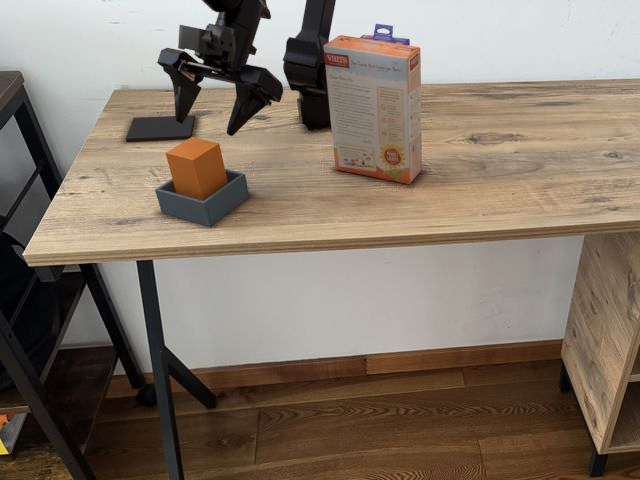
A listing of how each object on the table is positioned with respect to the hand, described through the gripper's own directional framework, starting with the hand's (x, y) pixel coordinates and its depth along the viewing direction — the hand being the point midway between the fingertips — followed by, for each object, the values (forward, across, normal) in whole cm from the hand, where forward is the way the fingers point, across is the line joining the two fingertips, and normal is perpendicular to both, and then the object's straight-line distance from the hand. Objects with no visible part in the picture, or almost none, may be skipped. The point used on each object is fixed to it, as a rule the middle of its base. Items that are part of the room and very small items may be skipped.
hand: (203, 128), depth 102 cm
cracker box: (-5, +19, +21) cm, 29 cm away
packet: (+10, 0, +5) cm, 11 cm away
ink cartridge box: (-24, +6, +40) cm, 47 cm away
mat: (-3, -24, +18) cm, 31 cm away
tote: (+10, 0, +6) cm, 12 cm away
